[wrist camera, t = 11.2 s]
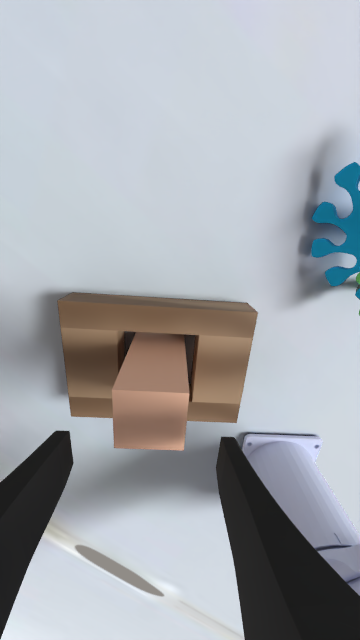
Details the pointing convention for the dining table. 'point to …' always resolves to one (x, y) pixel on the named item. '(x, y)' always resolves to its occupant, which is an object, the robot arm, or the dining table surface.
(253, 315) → the socket block
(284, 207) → the dining table surface
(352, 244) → the gear
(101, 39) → the dining table surface
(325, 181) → the dining table surface
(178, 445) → the peg
